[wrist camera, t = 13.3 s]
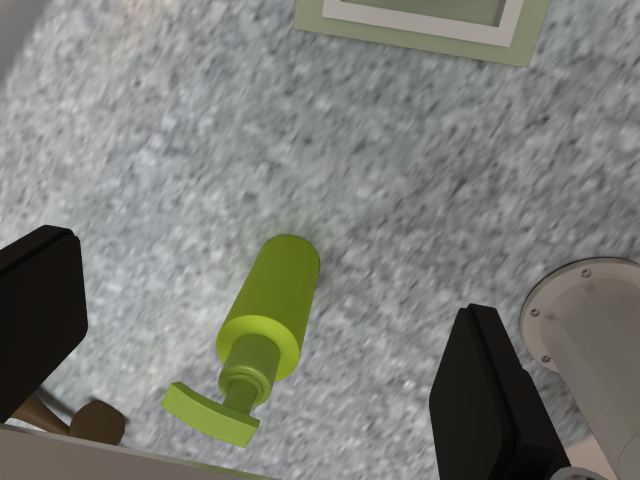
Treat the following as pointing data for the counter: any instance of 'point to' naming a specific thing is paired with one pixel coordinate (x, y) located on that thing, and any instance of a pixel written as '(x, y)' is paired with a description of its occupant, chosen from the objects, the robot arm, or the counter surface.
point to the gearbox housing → (433, 25)
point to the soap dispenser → (255, 341)
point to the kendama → (75, 421)
